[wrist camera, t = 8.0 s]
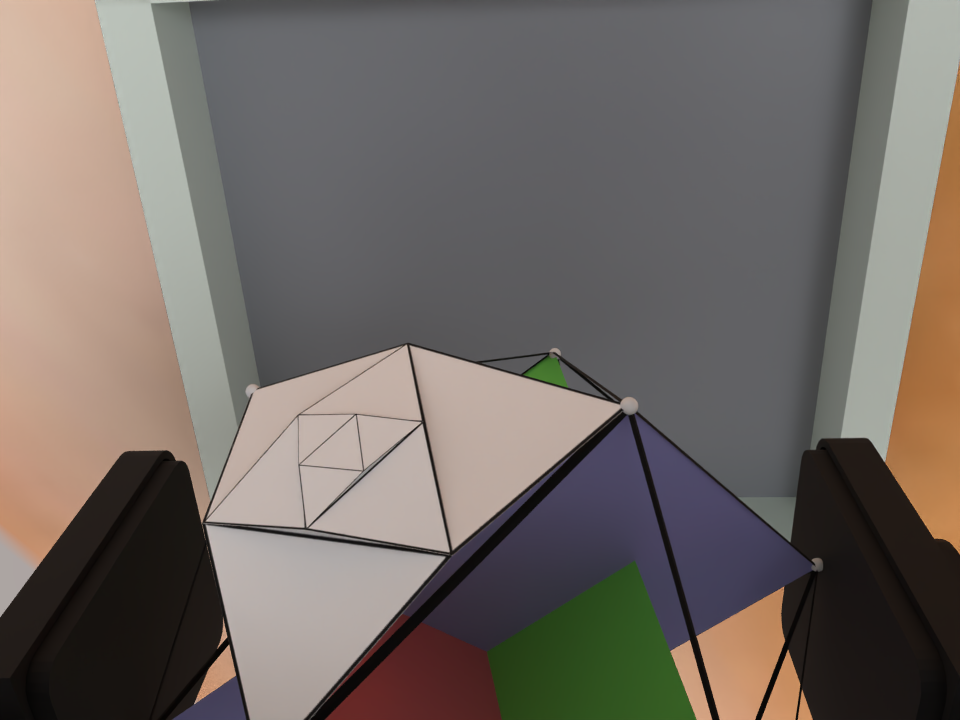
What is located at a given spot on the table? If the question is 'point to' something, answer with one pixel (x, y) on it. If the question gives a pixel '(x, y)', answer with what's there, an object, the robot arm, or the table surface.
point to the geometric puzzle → (470, 550)
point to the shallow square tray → (549, 201)
